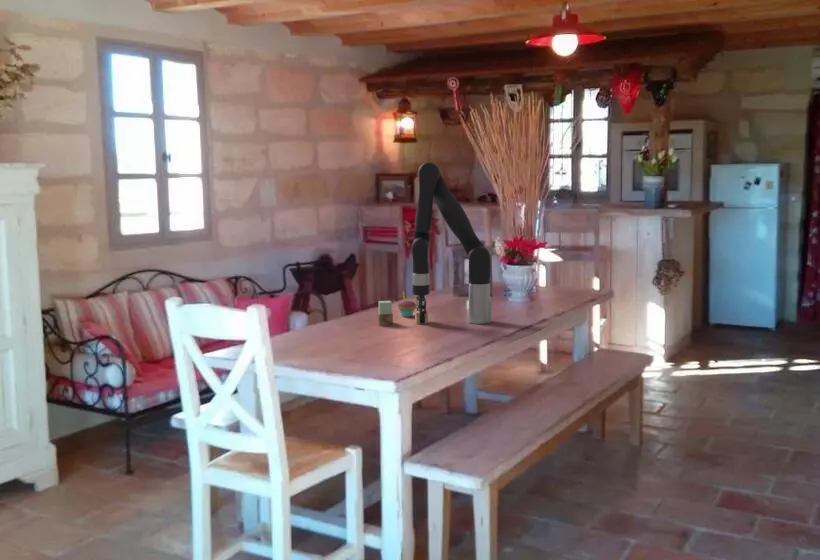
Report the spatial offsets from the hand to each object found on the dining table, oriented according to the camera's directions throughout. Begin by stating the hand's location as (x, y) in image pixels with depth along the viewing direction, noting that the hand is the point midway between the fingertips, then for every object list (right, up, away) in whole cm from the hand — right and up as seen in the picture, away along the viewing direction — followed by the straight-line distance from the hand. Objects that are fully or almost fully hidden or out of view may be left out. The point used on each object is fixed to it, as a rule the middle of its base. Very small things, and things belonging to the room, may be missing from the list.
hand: (421, 321), depth 377 cm
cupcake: (-6, +2, +17) cm, 18 cm away
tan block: (0, -1, 0) cm, 1 cm away
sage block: (-16, +4, -3) cm, 16 cm away
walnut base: (-16, -1, -2) cm, 16 cm away
